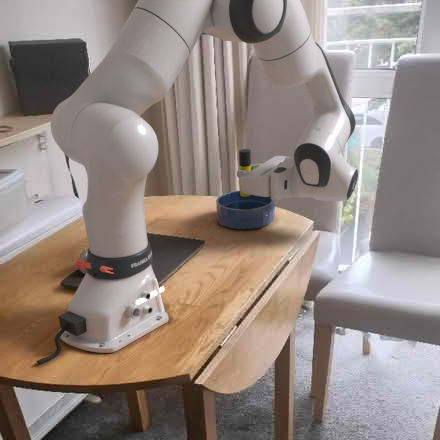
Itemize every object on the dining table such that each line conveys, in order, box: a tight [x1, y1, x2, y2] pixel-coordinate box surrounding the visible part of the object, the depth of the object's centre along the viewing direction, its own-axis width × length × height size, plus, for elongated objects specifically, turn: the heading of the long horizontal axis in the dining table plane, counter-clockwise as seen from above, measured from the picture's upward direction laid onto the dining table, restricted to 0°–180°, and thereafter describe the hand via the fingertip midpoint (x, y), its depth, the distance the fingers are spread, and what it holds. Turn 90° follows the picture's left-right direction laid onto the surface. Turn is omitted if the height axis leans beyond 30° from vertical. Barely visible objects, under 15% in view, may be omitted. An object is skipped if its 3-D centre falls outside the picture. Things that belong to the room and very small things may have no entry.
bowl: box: [215, 190, 276, 231], centre depth 155 cm, size 15×15×6 cm
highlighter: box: [238, 148, 252, 197], centre depth 149 cm, size 3×3×11 cm
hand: (242, 170), depth 149 cm, fingers closed on highlighter, 3 cm apart
